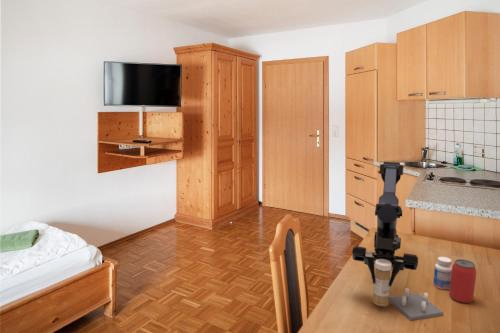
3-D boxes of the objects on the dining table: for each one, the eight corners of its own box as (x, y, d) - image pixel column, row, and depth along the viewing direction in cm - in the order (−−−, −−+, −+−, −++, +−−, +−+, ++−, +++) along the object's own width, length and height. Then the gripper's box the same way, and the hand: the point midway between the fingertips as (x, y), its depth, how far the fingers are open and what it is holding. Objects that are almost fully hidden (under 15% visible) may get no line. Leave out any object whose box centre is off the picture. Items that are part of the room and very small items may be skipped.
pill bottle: (435, 280, 126) (437, 254, 124) (452, 285, 122) (455, 258, 121) (431, 286, 121) (434, 259, 120) (449, 291, 118) (452, 264, 116)
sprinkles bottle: (386, 298, 111) (389, 258, 109) (390, 307, 107) (393, 265, 104) (370, 298, 111) (373, 258, 109) (374, 306, 107) (377, 264, 104)
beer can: (464, 292, 118) (468, 258, 115) (477, 303, 111) (482, 267, 109) (444, 292, 117) (448, 258, 115) (456, 304, 111) (460, 268, 109)
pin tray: (417, 295, 116) (418, 284, 115) (442, 315, 105) (444, 302, 104) (387, 300, 113) (388, 288, 112) (410, 320, 103) (411, 307, 102)
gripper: (354, 221, 112) (348, 270, 104) (420, 229, 105) (419, 282, 97) (355, 236, 120) (350, 282, 112) (416, 245, 113) (415, 294, 105)
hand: (381, 284), depth 107 cm, fingers closed on sprinkles bottle, 4 cm apart
